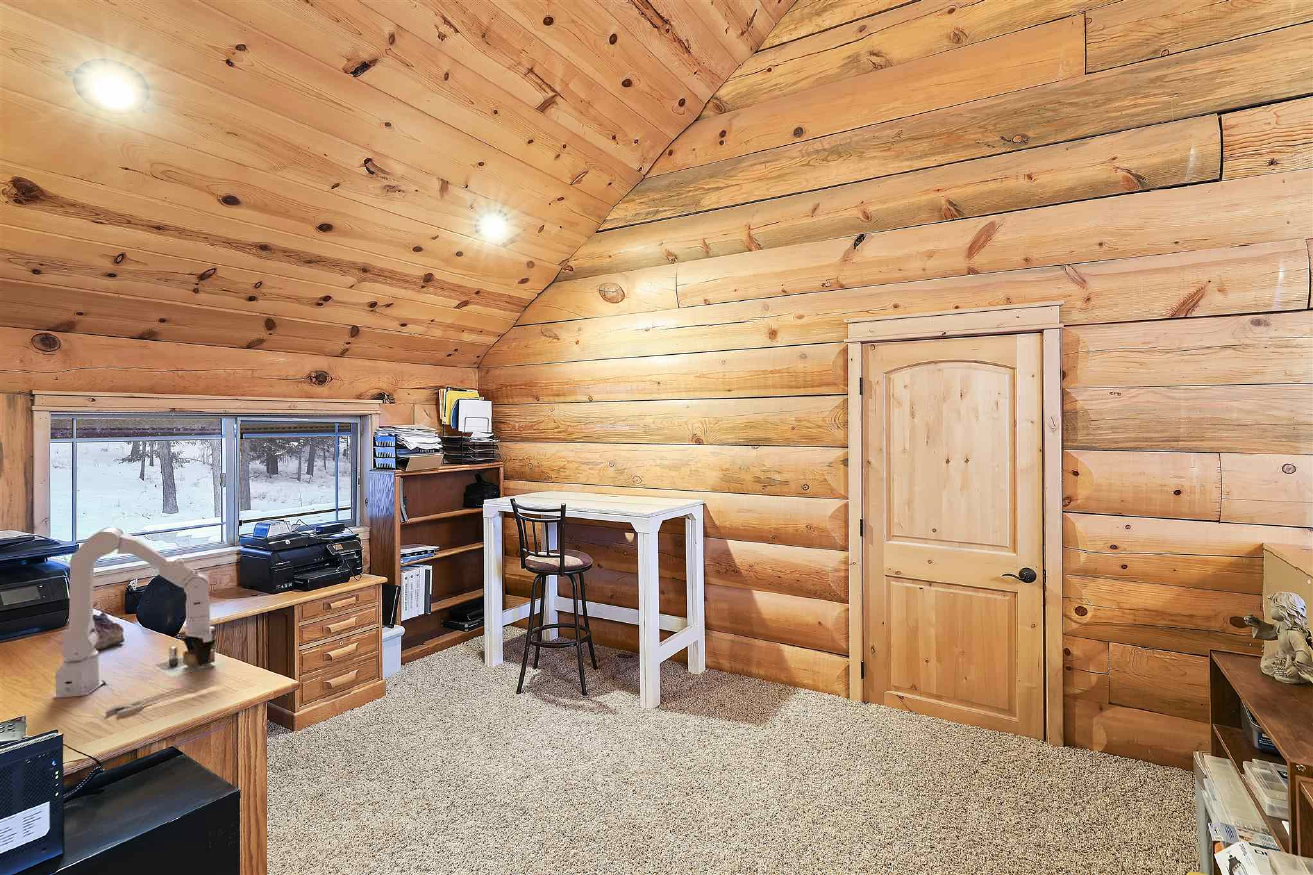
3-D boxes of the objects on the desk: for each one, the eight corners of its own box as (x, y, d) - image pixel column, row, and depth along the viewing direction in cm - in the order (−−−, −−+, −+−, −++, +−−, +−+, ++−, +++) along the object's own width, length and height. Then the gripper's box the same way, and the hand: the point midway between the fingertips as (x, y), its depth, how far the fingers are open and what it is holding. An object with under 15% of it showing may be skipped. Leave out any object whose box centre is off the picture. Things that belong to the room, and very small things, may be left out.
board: (219, 667, 194) (219, 664, 194) (170, 680, 184) (170, 677, 184) (201, 657, 202) (201, 654, 202) (154, 669, 192) (153, 665, 192)
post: (191, 663, 194) (191, 646, 194) (163, 670, 189) (163, 653, 189) (183, 658, 199) (182, 641, 198) (155, 665, 193) (154, 648, 193)
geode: (65, 643, 216) (69, 612, 217) (109, 639, 225) (113, 609, 226) (79, 654, 203) (83, 622, 204) (126, 649, 212) (129, 618, 213)
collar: (214, 661, 193) (214, 650, 193) (190, 668, 188) (190, 656, 188) (206, 657, 196) (206, 646, 196) (183, 663, 191) (183, 651, 191)
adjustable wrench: (215, 682, 184) (215, 675, 184) (226, 687, 180) (226, 681, 180) (104, 714, 163) (103, 707, 163) (113, 721, 160) (113, 714, 160)
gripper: (223, 616, 190) (224, 662, 191) (204, 608, 199) (205, 652, 200) (195, 622, 185) (196, 669, 185) (176, 613, 194) (177, 658, 194)
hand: (199, 661), depth 192 cm, fingers closed on collar, 6 cm apart
